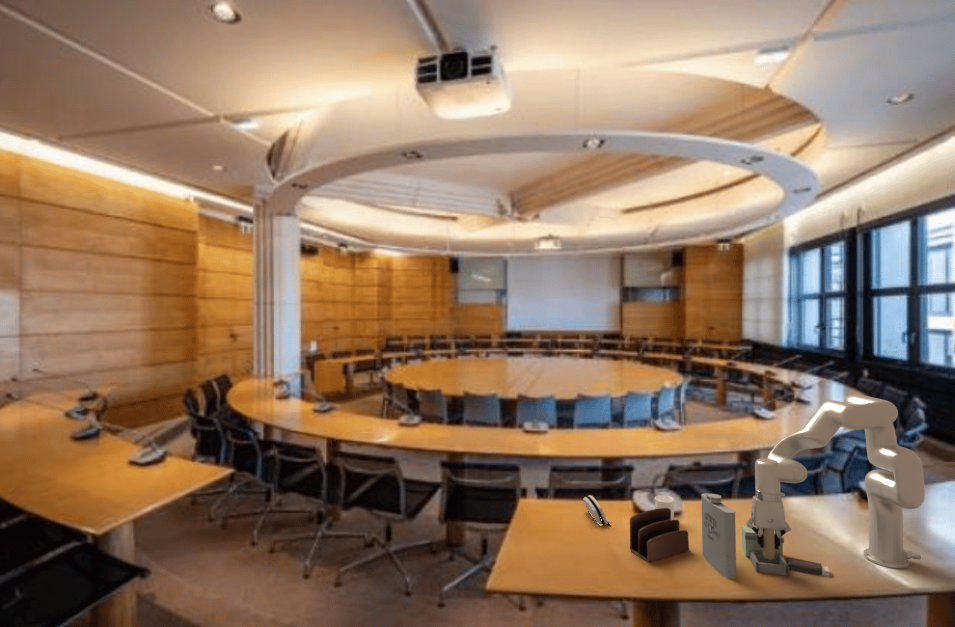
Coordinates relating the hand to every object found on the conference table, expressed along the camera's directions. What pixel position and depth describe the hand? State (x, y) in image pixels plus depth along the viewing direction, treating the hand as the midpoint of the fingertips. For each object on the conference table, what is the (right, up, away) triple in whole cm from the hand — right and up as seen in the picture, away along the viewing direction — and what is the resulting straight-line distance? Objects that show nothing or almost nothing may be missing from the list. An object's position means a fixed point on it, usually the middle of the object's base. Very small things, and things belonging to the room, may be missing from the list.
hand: (768, 546), depth 173 cm
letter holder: (-33, -8, +13) cm, 37 cm away
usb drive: (+12, -8, -2) cm, 15 cm away
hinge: (-50, -8, +43) cm, 67 cm away
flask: (-17, -8, +2) cm, 19 cm away
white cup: (-22, -8, +38) cm, 45 cm away
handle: (0, -4, 0) cm, 4 cm away
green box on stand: (+1, -7, +4) cm, 8 cm away
